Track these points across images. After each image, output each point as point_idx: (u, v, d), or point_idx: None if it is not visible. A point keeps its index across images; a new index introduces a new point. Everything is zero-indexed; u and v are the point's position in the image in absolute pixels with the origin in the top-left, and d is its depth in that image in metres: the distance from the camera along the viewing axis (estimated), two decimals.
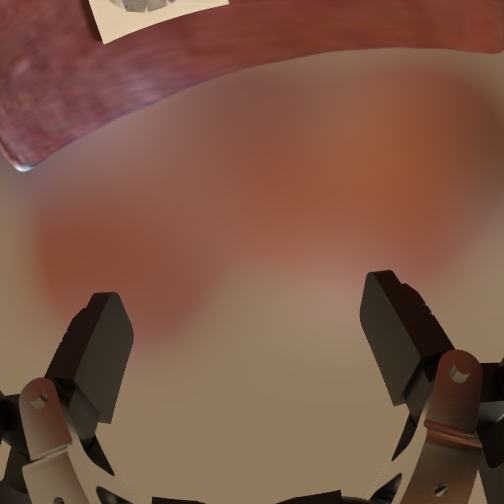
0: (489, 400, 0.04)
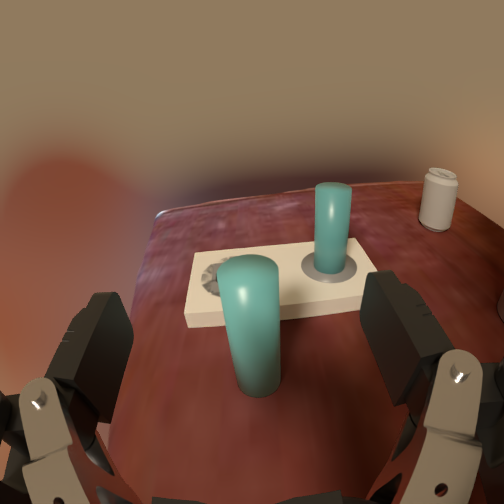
0: (489, 400, 0.04)
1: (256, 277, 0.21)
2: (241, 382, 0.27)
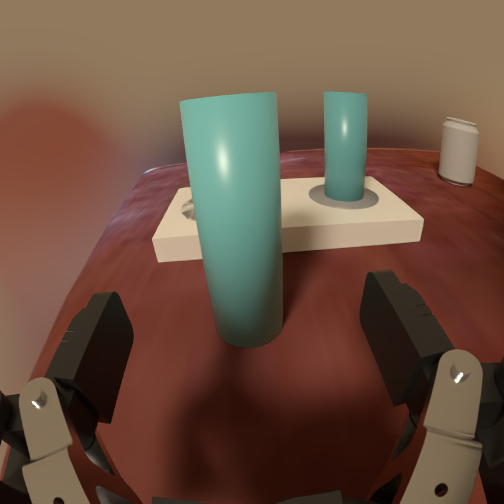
0: (489, 400, 0.04)
1: None
2: (219, 317, 0.17)
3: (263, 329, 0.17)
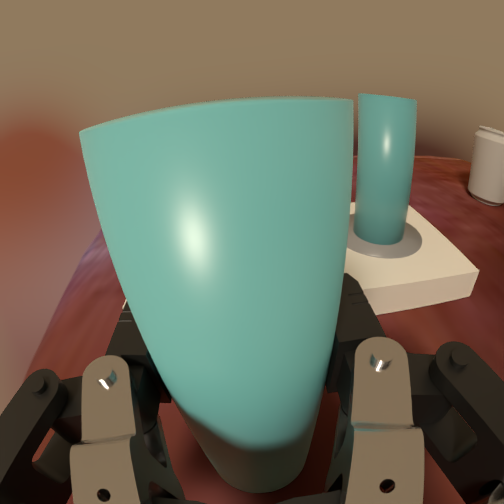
0: (420, 393, 0.05)
1: (253, 101, 0.04)
2: (217, 469, 0.09)
3: (281, 481, 0.09)
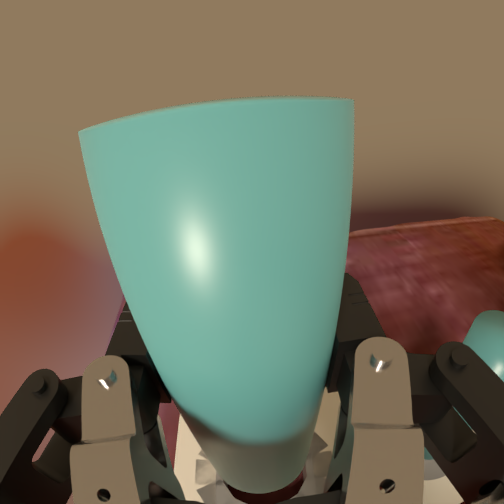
0: (420, 393, 0.05)
1: (254, 101, 0.04)
2: (217, 470, 0.09)
3: (281, 482, 0.09)
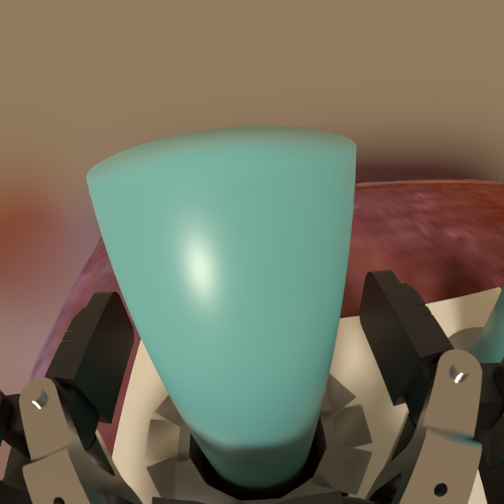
0: (488, 400, 0.04)
1: (259, 151, 0.04)
2: (220, 475, 0.10)
3: (282, 486, 0.10)
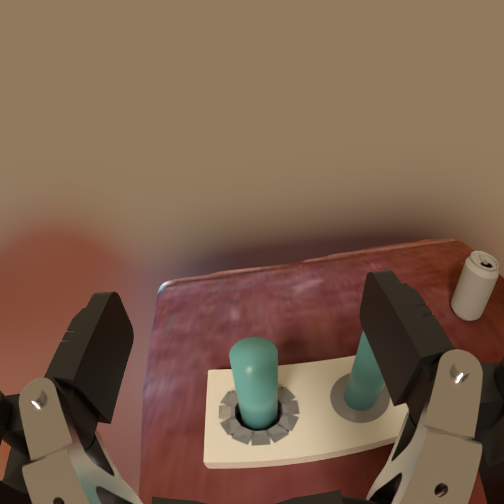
0: (489, 400, 0.04)
1: (260, 361, 0.26)
2: (246, 423, 0.31)
3: (267, 428, 0.31)
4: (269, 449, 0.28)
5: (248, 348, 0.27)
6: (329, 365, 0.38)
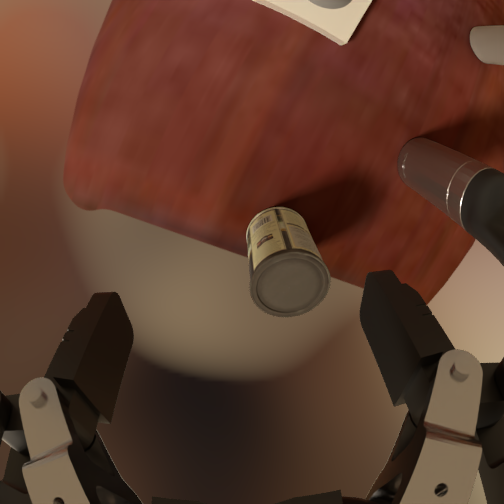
0: (489, 400, 0.04)
1: None
2: None
3: None
4: None
5: None
6: None
